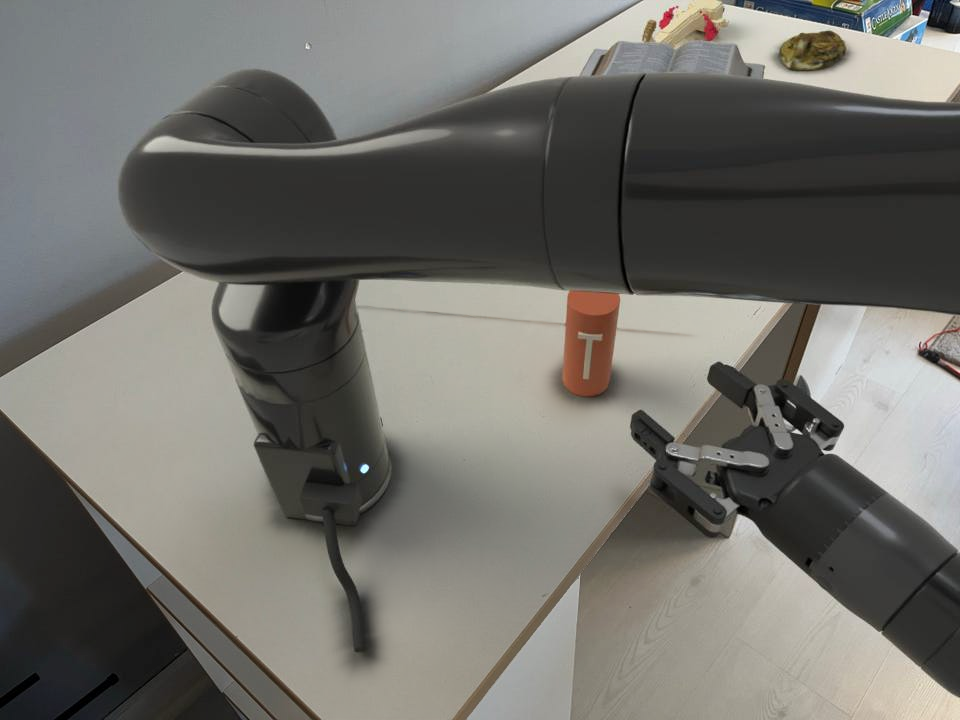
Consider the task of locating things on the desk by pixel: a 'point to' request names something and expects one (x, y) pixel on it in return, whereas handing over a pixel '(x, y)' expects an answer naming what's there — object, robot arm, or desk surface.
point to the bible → (670, 59)
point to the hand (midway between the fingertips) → (673, 394)
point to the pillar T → (589, 341)
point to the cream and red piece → (688, 22)
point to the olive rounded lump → (812, 50)
